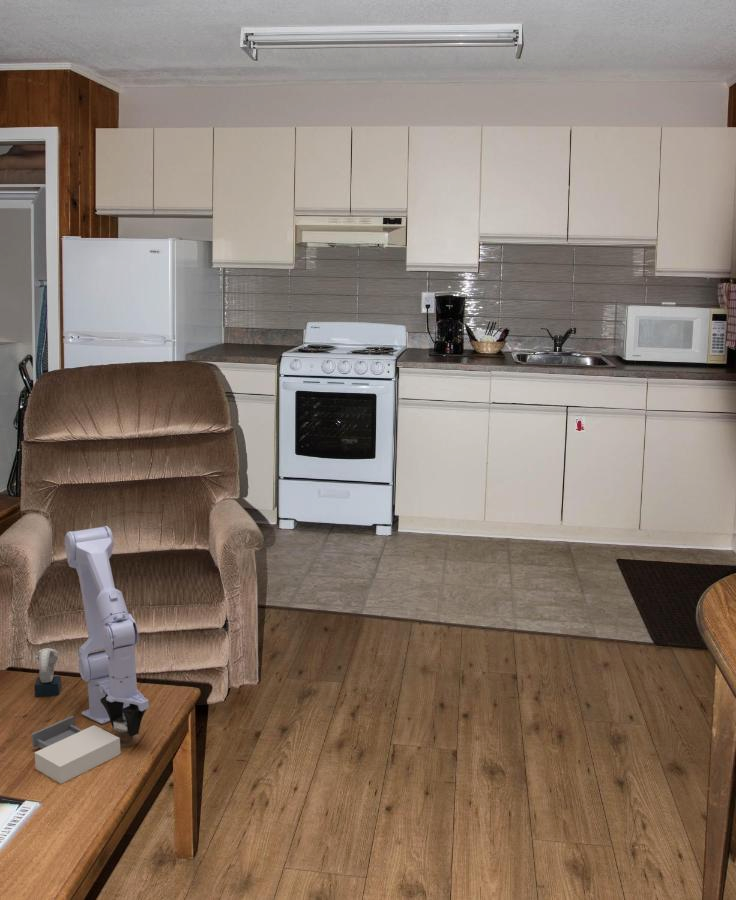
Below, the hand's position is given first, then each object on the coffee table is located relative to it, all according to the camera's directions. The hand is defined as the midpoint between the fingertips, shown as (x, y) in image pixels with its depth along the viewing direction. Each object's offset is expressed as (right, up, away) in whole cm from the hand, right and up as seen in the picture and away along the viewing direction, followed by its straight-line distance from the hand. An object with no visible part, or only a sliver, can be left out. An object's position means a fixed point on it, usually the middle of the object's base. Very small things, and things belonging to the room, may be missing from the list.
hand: (125, 730), depth 209 cm
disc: (0, +1, 0) cm, 1 cm away
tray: (-13, -2, -2) cm, 13 cm away
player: (-8, -4, -8) cm, 12 cm away
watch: (-25, +2, +23) cm, 34 cm away
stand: (0, -3, +1) cm, 3 cm away
